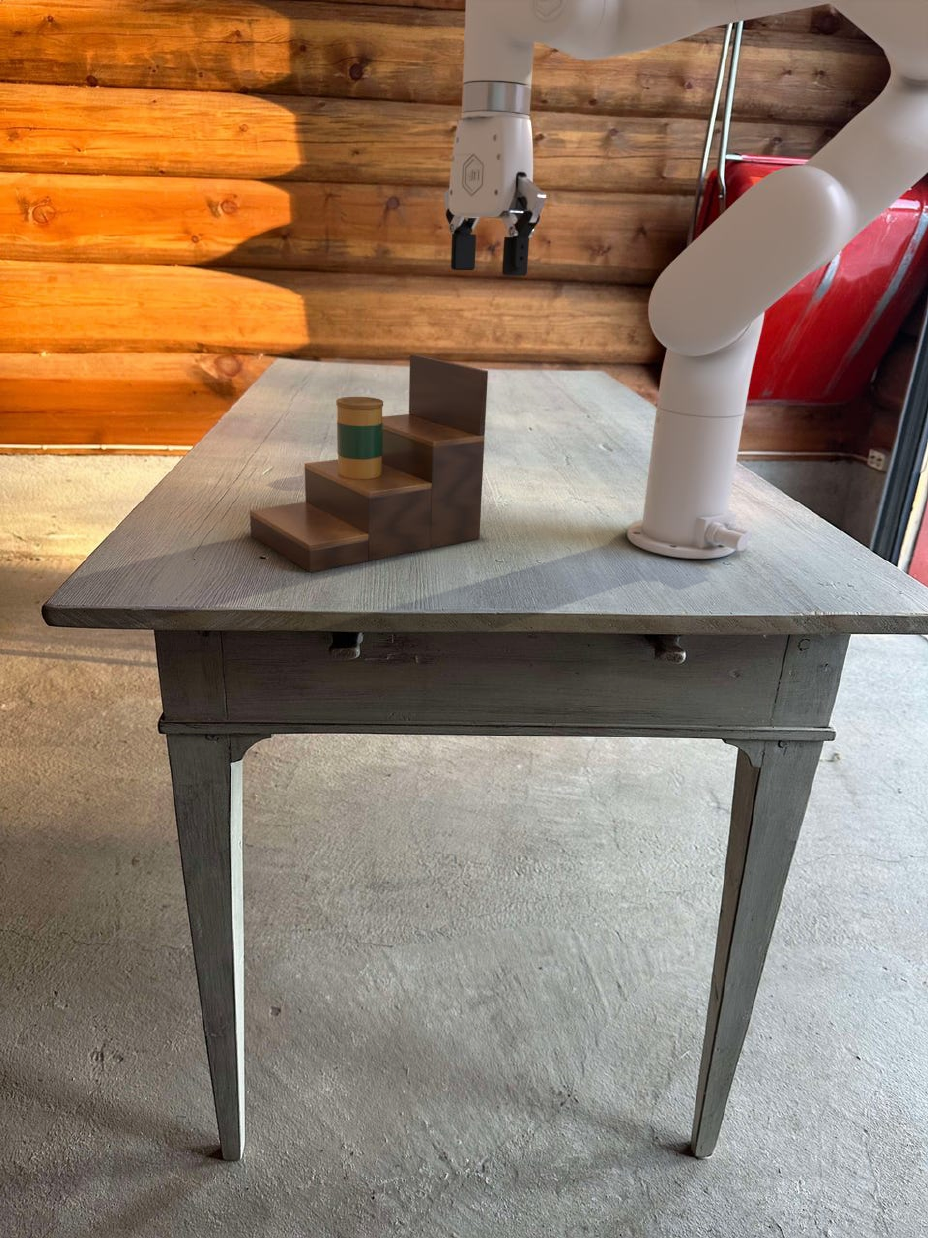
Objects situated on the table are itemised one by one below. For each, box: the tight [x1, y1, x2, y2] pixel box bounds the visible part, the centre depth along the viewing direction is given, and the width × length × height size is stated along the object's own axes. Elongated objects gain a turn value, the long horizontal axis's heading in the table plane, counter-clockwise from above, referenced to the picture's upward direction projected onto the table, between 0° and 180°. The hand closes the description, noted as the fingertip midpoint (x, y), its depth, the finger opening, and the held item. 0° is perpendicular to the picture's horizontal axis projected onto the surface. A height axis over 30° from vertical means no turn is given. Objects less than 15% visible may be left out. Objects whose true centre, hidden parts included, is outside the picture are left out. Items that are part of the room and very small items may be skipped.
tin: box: [335, 396, 384, 479], centre depth 99 cm, size 5×5×8 cm
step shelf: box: [249, 353, 489, 573], centre depth 101 cm, size 22×14×19 cm, turn 127°
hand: (487, 272), depth 107 cm, fingers open, 9 cm apart
